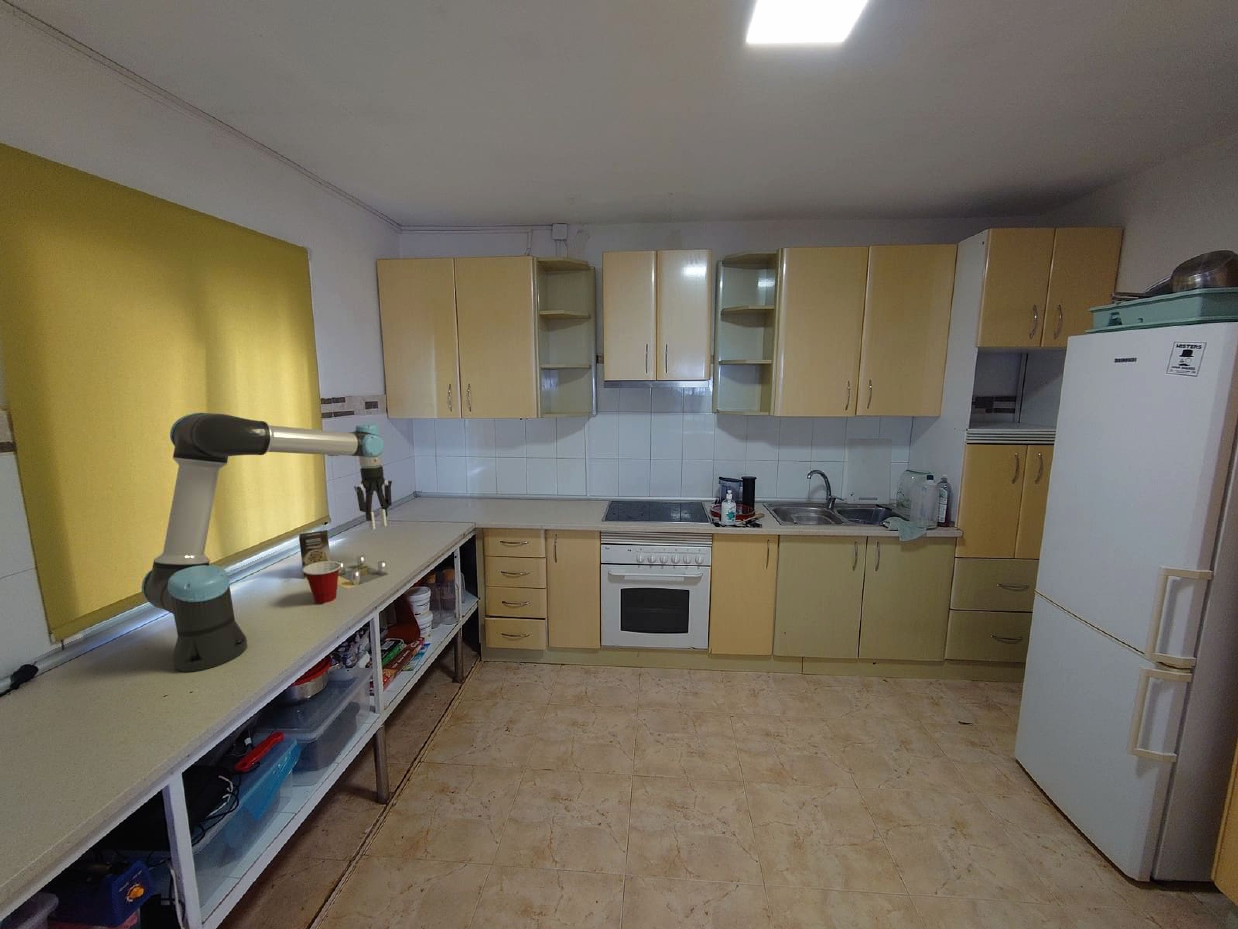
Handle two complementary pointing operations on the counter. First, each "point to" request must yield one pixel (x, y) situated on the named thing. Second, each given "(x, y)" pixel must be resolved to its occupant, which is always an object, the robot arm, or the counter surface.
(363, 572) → the tan faceted flat piece
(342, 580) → the mat
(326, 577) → the plastic cup
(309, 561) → the coffee box
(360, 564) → the ball
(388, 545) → the counter surface
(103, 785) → the counter surface
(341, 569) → the spacer
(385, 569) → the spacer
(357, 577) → the spacer
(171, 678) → the counter surface
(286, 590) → the counter surface
